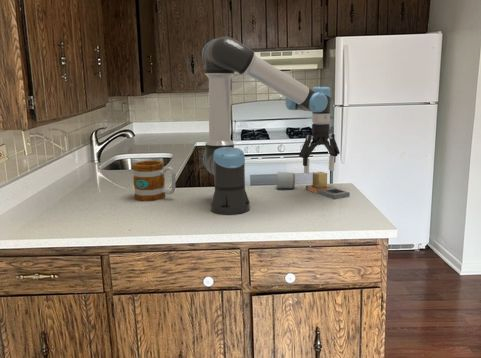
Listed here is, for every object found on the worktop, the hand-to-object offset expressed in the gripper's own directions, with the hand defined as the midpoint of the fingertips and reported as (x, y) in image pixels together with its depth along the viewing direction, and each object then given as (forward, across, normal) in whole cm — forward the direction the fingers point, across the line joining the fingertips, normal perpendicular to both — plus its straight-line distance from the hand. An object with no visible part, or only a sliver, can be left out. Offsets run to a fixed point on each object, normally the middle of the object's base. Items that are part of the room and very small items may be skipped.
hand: (319, 171), depth 204 cm
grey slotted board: (+8, +1, -5) cm, 10 cm away
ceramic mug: (+9, -9, +13) cm, 18 cm away
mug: (+10, -65, +28) cm, 72 cm away
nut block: (+9, +1, 0) cm, 9 cm away
